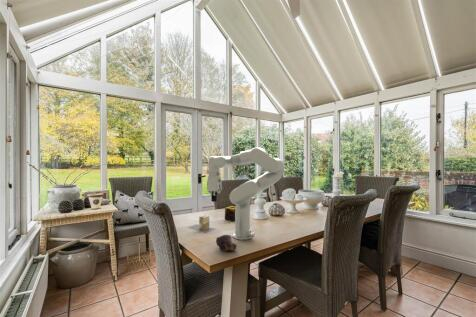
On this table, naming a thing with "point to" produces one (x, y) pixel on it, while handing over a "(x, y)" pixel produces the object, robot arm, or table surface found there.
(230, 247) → the rock
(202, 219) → the maple block
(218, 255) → the table surface
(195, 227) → the mat
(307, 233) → the table surface
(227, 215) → the candle
